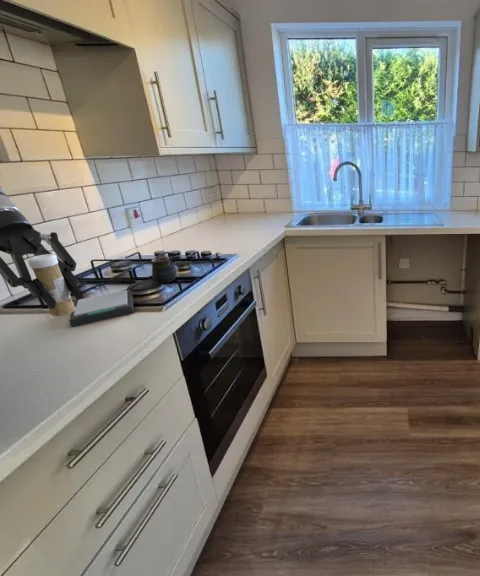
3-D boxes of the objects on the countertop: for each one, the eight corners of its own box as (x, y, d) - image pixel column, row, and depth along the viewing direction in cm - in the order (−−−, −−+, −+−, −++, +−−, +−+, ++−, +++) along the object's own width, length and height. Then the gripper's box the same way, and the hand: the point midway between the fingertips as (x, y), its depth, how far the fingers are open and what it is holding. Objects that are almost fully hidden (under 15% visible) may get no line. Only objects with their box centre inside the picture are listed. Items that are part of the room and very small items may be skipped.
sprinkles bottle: (45, 316, 81) (20, 260, 75) (64, 307, 85) (41, 253, 80) (64, 317, 80) (40, 260, 75) (82, 308, 84) (60, 253, 79)
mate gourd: (177, 275, 130) (169, 248, 126) (179, 281, 124) (172, 254, 120) (154, 280, 126) (145, 252, 122) (155, 286, 120) (147, 258, 116)
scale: (71, 327, 96) (68, 318, 95) (77, 307, 107) (74, 299, 106) (133, 312, 103) (130, 304, 102) (133, 296, 114) (130, 288, 113)
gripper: (47, 222, 89) (106, 295, 89) (-54, 240, 75) (15, 326, 75) (50, 202, 85) (112, 278, 84) (-57, 217, 71) (16, 308, 70)
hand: (66, 300), depth 80 cm, fingers closed on sprinkles bottle, 4 cm apart
